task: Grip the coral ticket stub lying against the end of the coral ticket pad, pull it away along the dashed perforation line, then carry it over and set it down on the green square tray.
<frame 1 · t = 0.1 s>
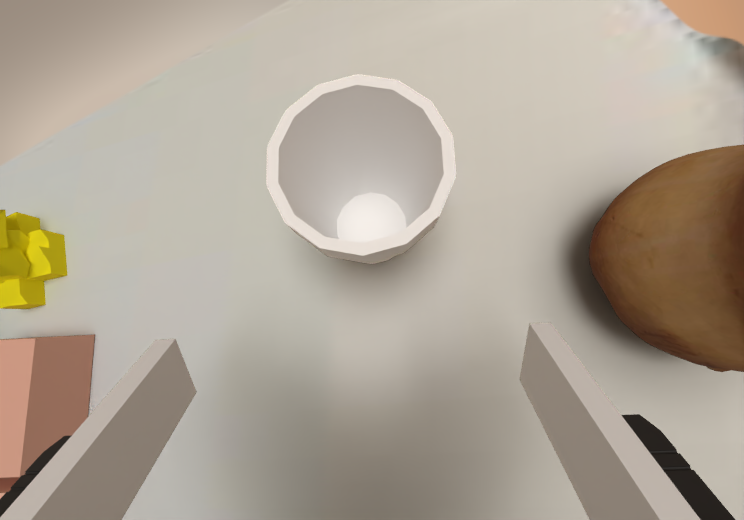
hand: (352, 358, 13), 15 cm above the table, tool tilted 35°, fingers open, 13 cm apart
butternut squash: (641, 272, 28), on the table
yellow faceted figurine: (37, 263, 31), on the table
foam cup: (371, 228, 30), on the table
ticket pad: (55, 391, 29), on the table
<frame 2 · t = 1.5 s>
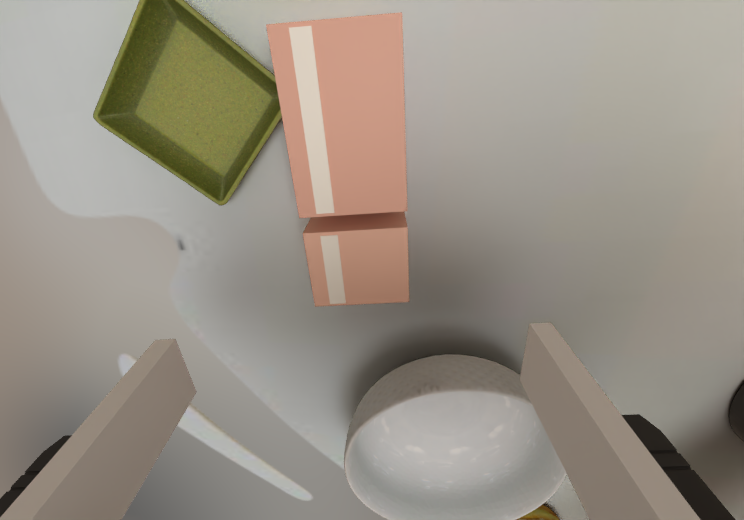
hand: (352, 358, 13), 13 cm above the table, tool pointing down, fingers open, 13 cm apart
stub: (362, 237, 25), on the table
cereal bowl: (440, 395, 32), on the table
decorated donut: (512, 518, 41), on the table
green square tray: (208, 104, 22), on the table
ticket pad: (351, 120, 21), on the table
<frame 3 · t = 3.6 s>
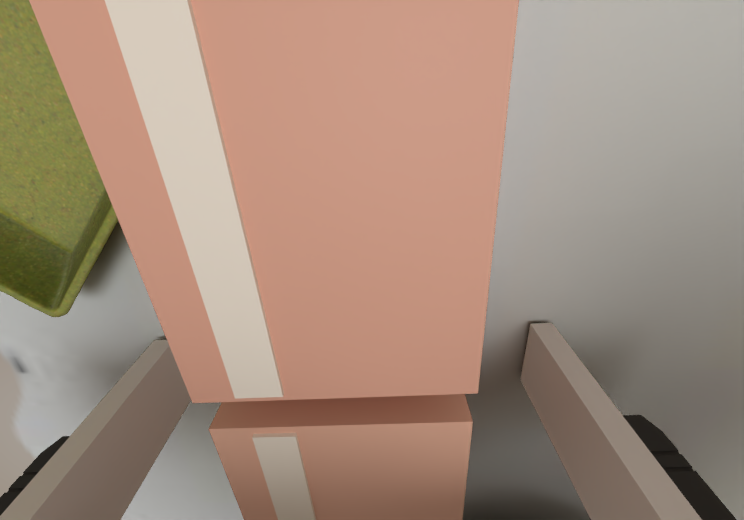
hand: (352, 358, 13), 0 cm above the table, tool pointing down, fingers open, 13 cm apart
stub: (358, 356, 13), on the table
green square tray: (23, 103, 10), on the table
ticket pad: (335, 141, 10), on the table
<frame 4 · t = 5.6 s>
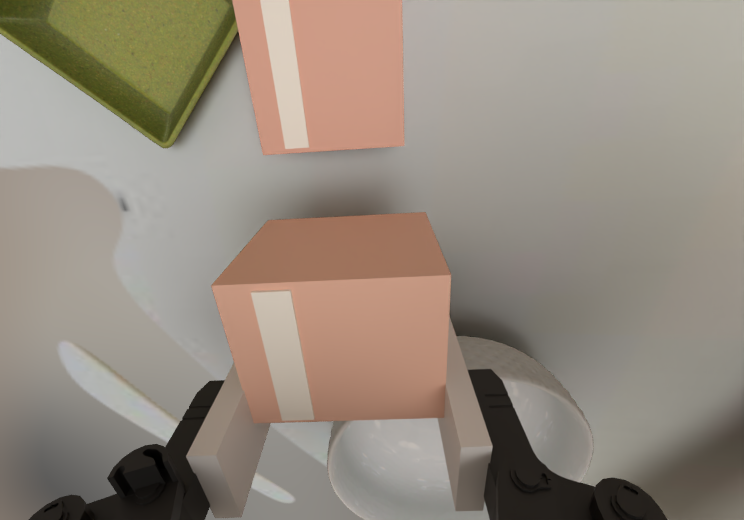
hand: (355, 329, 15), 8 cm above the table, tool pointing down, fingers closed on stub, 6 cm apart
stub: (351, 274, 14), point 8 cm above the table, touching gripper
cereal bowl: (438, 384, 28), on the table
green square tray: (147, 16, 17), on the table
ticket pad: (331, 38, 17), on the table
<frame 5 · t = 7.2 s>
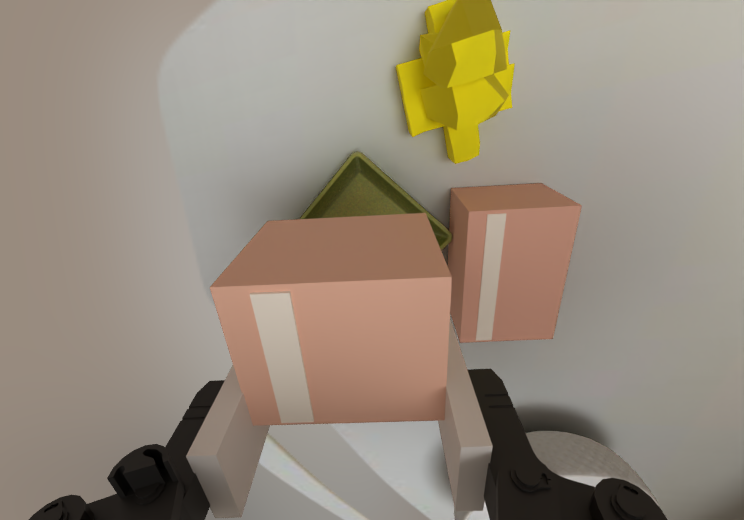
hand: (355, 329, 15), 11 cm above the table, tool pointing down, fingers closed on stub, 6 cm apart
stub: (351, 275, 14), point 11 cm above the table, touching gripper
cereal bowl: (525, 456, 36), on the table
yellow faceted figurine: (449, 87, 21), on the table
green square tray: (365, 230, 25), on the table
ticket pad: (489, 246, 25), on the table
when the fingers open (2 cm above the table, at t = 9.2 s): stub stays where it is, resting on green square tray.
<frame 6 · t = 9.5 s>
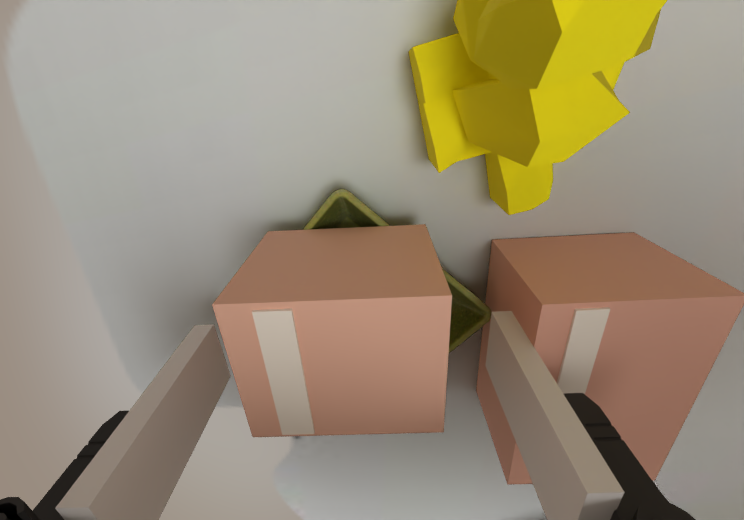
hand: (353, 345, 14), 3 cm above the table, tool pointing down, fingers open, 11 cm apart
stub: (351, 284, 14), point 2 cm above the table, touching green square tray
yellow faceted figurine: (497, 85, 12), on the table
green square tray: (358, 295, 17), on the table, touching stub
ticket pad: (545, 321, 17), on the table
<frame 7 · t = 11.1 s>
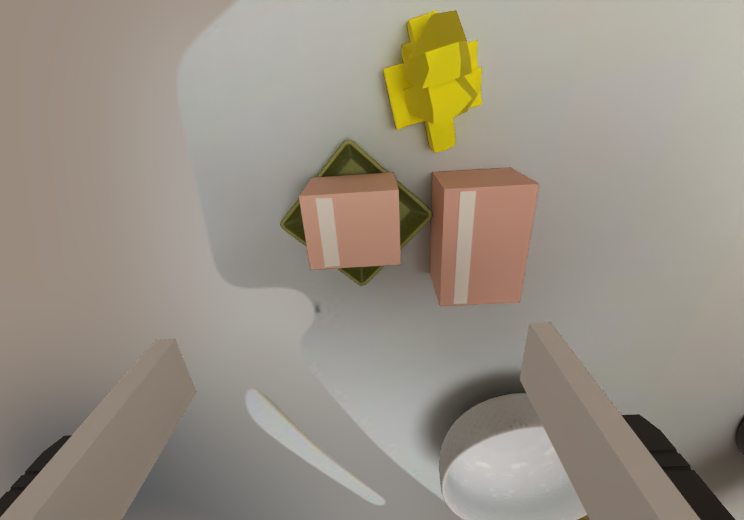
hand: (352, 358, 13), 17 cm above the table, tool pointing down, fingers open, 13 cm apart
stub: (355, 207, 26), point 2 cm above the table, touching green square tray
cereal bowl: (504, 421, 39), on the table
yellow faceted figurine: (429, 87, 24), on the table
green square tray: (357, 210, 29), on the table, touching stub
ticket pad: (467, 224, 28), on the table
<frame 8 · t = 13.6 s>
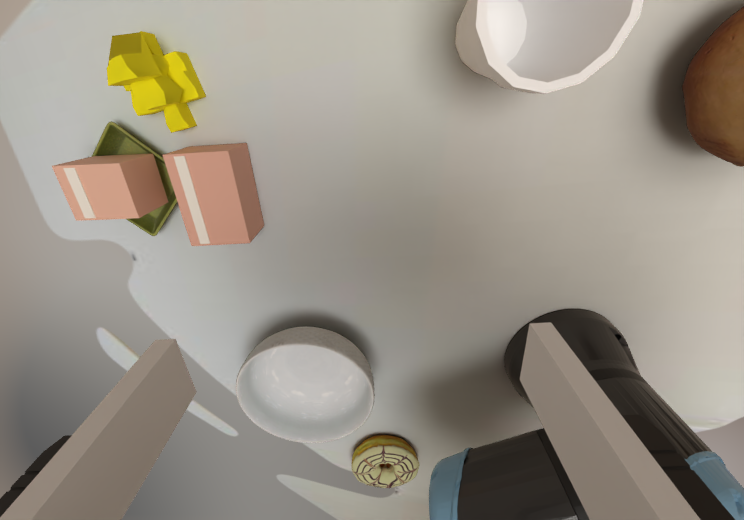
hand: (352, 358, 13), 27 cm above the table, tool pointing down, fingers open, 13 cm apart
butternut squash: (718, 79, 32), on the table
stub: (132, 179, 35), point 2 cm above the table, touching green square tray
cereal bowl: (314, 357, 48), on the table
yellow faceted figurine: (170, 84, 33), on the table
foam cup: (489, 33, 31), on the table
decorated donut: (384, 450, 57), on the table
green square tray: (146, 178, 37), on the table, touching stub
ticket pad: (228, 188, 37), on the table
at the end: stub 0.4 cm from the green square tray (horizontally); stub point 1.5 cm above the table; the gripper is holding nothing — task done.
